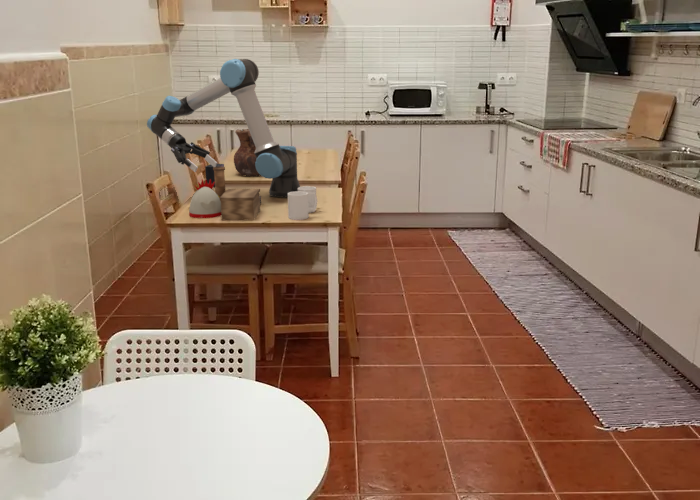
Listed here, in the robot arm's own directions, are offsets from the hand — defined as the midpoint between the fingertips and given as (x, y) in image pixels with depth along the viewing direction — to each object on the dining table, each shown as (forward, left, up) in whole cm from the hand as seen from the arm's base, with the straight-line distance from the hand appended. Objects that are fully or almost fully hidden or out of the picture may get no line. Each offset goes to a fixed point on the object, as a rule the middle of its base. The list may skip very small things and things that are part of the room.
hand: (206, 167), depth 316 cm
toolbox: (-21, +25, -15) cm, 36 cm away
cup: (-47, +38, -15) cm, 62 cm away
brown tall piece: (-8, +9, -15) cm, 19 cm away
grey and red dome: (-6, +31, -15) cm, 35 cm away
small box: (+3, -34, -15) cm, 38 cm away
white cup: (-48, +27, -15) cm, 57 cm away
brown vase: (-12, -65, -15) cm, 68 cm away
